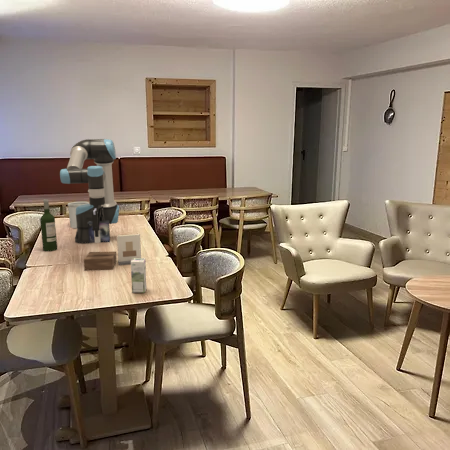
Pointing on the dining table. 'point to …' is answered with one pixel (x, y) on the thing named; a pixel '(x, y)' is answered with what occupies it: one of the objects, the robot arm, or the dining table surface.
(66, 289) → the dining table surface
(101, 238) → the small box
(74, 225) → the utensil holder
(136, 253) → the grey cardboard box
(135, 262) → the syrup box
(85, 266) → the walnut block
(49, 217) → the wine bottle
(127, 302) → the dining table surface
